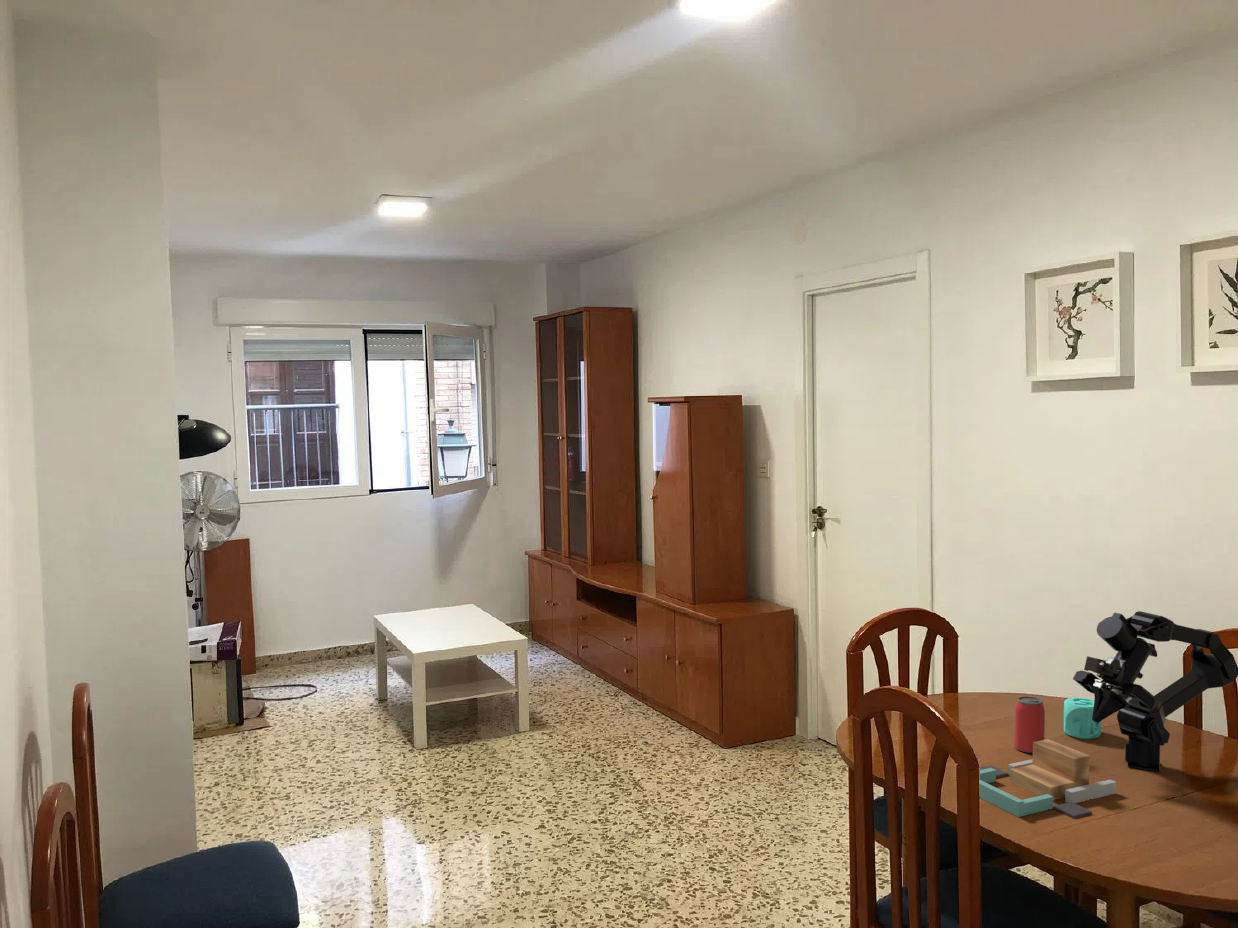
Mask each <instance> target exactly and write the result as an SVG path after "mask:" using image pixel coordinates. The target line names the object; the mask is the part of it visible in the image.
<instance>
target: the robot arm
mask: <svg viewBox="0 0 1238 928" xmlns="http://www.w3.org/2000/svg"><path fill="white" fill-rule="evenodd" d="M1096 634H1097V635H1098V636H1099V637H1100V639H1102V640H1103V641H1104V642H1105V643H1106V644H1107V645H1109V647H1110V648H1112V650H1113V651H1116V654H1115V656H1114V657H1111V656H1108V657H1107V659H1106V660H1104V659H1101V658H1096V657H1092V656H1086V659H1085V665H1084V666H1083V668H1084V669H1082V670H1078V671H1076V672H1075V674H1074V676H1073V678H1072V680H1074V682H1076V683H1077V684H1078V685H1079V686H1081V687H1082V688H1083V689H1084V690H1086V691H1087V692H1088V693H1090V694H1094V699H1093V700H1094V709H1093V716H1092V720H1093V721H1094V722H1096V723H1098V722H1100V721H1101V722H1102V720H1105V719H1107V718H1109V716H1111V715H1113V714H1114V713H1116V712H1117V715H1116V718H1117V722H1118V727H1119V730H1120V734H1121V735H1122V736H1123V735H1125V736H1127V738H1128V740H1125V743H1124V744H1125V745H1124V747H1125V749H1124V762H1125V763H1127V767H1128V768H1131V769H1132V768H1133V769H1139V770H1146V771H1151V772H1161V762H1160V761H1161V747H1162V746H1165V744H1169V741H1170V737H1171V733H1170V732H1169V731H1168V730H1167V728H1166V727H1165V723H1166V718H1167V717H1168V716H1169V715H1171V714H1173V713H1174V712H1176V711H1177V710H1179V709H1180V708H1182V706H1185V705H1186V704H1188V703H1189V702H1190V701H1191V700H1193V699H1195V698H1196V697H1197V696H1199V695H1201V694H1203V693H1204V692H1205V691H1207V690H1208V689H1217V688H1223V687H1225V686H1229V685H1230V684H1232V683H1234V682H1235V681H1236V680H1237V678H1238V664H1237V661H1236V659H1235V656H1234V655H1233V653H1232V652H1231V651H1230V650H1229V649H1228V648H1227V647H1226V646H1225V645H1224V644H1223V642H1222V639H1221V638H1220V635H1219V634H1217V633H1216V632H1215V631H1211V630H1210V631H1209V630H1206V629H1202V628H1192V627H1189V626H1188V627H1187V626H1184V625H1180V624H1176V623H1175V622H1174V621H1173V620H1171V619H1170V618H1167V617H1166V616H1163V615H1158V614H1154V613H1149V612H1145V611H1141V610H1137V611H1136V612H1134V614H1133V615H1131V616H1130V617H1127V618H1126V617H1125V616H1124V615H1123V614H1122V613H1118V612H1113V614H1112V615H1111V616H1108V617H1105V618H1104V619H1102V620H1101V621H1099V622H1098V624H1097V625H1096ZM1145 639H1147V640H1149V641H1153V642H1158V643H1159V642H1163V643H1164V642H1165V643H1166V642H1170V641H1177V642H1182V643H1186V644H1189V645H1190V644H1191V646H1192V649H1191V653H1190V657H1191V660H1192V662H1191V666H1190V671H1189V672H1188V673H1186V674H1184V675H1183V676H1181V677H1180V678H1179V679H1177V680H1175V681H1174V682H1173V683H1171V684H1170V685H1168V686H1167V687H1164V688H1163V689H1162V690H1160V691H1159V692H1158V693H1156V694H1155V695H1153V694H1152V693H1151V692H1149V690H1147V689H1146V688H1145V687H1143V686H1142V685H1141V684H1138V683H1135V681H1136V680H1137V679H1140V680H1141V679H1142V678H1143V676H1144V674H1143V673H1141V671H1142V669H1143V667H1144V665H1145V663H1146V662H1147V661H1148V658H1149V657H1150V656H1151V657H1154V658H1157V657H1158V652H1157V649H1156V645H1155V644H1154V643H1150V642H1148V641H1147V640H1145ZM1204 649H1208V650H1209V651H1210V653H1208V652H1205V651H1204ZM1092 672H1093V673H1092ZM1094 673H1095V674H1096V675H1095V674H1094Z"/></svg>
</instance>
